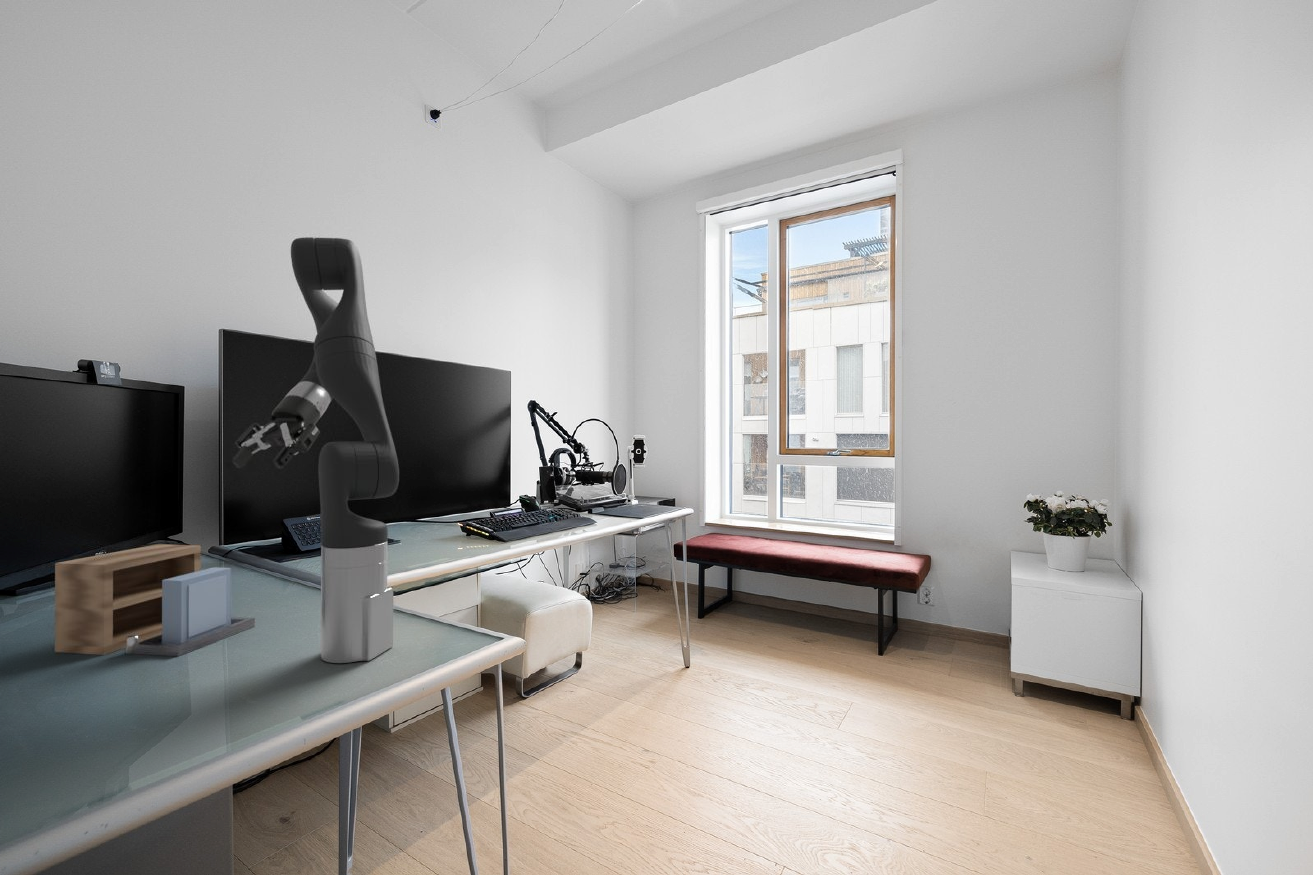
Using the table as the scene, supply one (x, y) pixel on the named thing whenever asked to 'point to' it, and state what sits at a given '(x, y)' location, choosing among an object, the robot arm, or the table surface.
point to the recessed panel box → (195, 604)
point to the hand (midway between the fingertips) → (256, 465)
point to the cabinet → (115, 596)
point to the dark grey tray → (167, 649)
